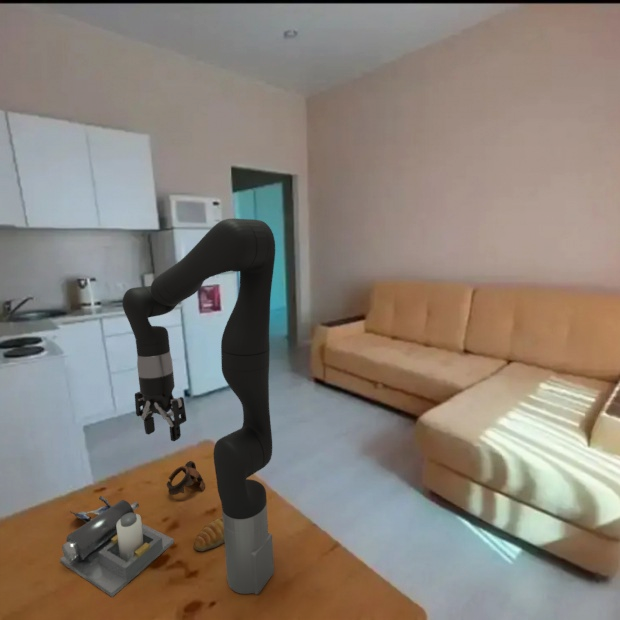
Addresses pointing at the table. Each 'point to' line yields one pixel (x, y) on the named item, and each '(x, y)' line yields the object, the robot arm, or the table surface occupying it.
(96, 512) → the snack package
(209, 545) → the pastry
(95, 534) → the motor unit
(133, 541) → the white cylinder roll
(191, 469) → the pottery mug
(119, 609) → the table surface
